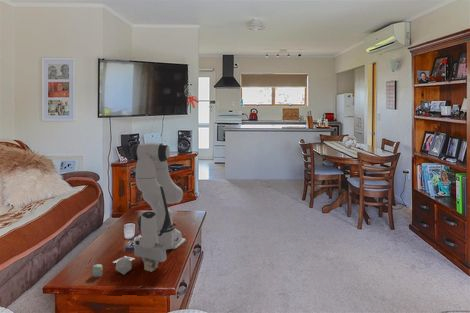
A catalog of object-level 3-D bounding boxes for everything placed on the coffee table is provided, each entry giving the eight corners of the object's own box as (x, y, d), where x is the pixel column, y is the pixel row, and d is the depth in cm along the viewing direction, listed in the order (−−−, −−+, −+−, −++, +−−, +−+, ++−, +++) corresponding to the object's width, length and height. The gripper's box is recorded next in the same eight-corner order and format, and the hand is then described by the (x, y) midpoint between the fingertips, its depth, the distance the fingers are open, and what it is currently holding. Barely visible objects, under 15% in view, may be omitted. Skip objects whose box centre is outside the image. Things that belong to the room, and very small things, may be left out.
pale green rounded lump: (98, 272, 208) (97, 263, 207) (104, 274, 205) (104, 265, 205) (91, 275, 203) (90, 266, 203) (97, 277, 201) (97, 268, 200)
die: (135, 274, 207) (135, 256, 211) (124, 272, 200) (124, 253, 204) (123, 277, 209) (123, 259, 214) (112, 275, 202) (112, 257, 207)
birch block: (150, 266, 215) (150, 257, 214) (157, 268, 212) (157, 259, 212) (144, 270, 210) (144, 261, 210) (151, 271, 208) (151, 263, 207)
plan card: (125, 256, 228) (125, 255, 228) (135, 259, 225) (135, 258, 225) (112, 262, 220) (112, 261, 220) (122, 265, 216) (122, 264, 216)
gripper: (168, 243, 207) (169, 267, 209) (139, 237, 217) (140, 260, 219) (161, 247, 201) (161, 272, 203) (131, 240, 211) (132, 264, 213)
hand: (150, 266), depth 211 cm, fingers open, 5 cm apart
